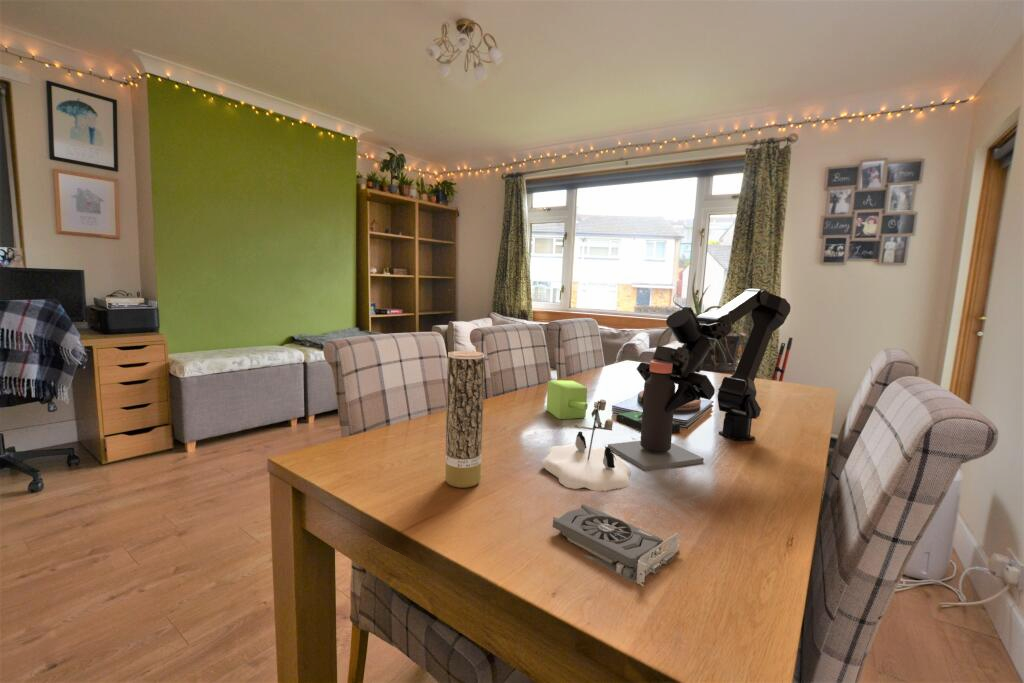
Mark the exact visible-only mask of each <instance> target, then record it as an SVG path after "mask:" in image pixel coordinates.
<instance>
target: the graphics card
mask: <svg viewBox="0 0 1024 683" xmlns="http://www.w3.org/2000/svg"><path fill="white" fill-rule="evenodd" d="M580 506H581V507H580V508H578V509H573V510H569V511H567V512H566V513H564V514H562V516H560V517H559V518H558V517H555V516H553V519H552V528H553V529H555V530H558V531H560V532H561V533H562V536H563V537H566V540H567V541H569V542H571V543H572V544H574V545H576V546H578V547H580V548H581V549H583V550H586V551H587V552H589V553H590V554H593V555H595V556H591V555H586V554H583V556H584V557H585V558H587V559H589V560H591V561H593V562H595V563H597V564H598V565H600V566H602V567H604V568H605V569H607V570H608V571H611V572H612V573H614V574H616V575H618V576H620V577H621V578H624V579H625V580H627V581H629V582H631V583H635V584H638V585H640V586H641V587H642V588H643V587H645V585H644V584H643V583H645V577H646V576H647V575H649V574H650V573H652V574H656V573H658V572H659V571H660V569H661V567H662V565H668V564H669V563H670V562H672V561H674V560H675V559H674V558H675V556H676V553H678V552H679V551H680V544H678V542H679V541H680V539H681V533H678V532H676V533H674V534H673V535H671V536H670V537H669V538H667V539H666V540H663V538H661V537H660V536H657V535H655V534H653V533H650V532H648V531H646V530H644V529H641V528H639V527H637V526H634V525H632V524H630V523H627V522H625V521H624V520H621V519H619V518H617V517H614V516H612V515H609V514H607V513H605V512H602V511H600V510H598V509H596V508H594V507H591V506H589V505H587V504H581V505H580Z"/></svg>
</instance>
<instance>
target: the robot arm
mask: <svg viewBox="0 0 1024 683" xmlns="http://www.w3.org/2000/svg"><path fill="white" fill-rule="evenodd" d="M790 312H791V304H790V303H789V302H788V301H787V298H784V297H781V296H779V295H776V294H772V293H771V292H769V291H767V290H766V289H764V288H746V289H744V290H743V292H742V293H741V294H740V295H738V296H736V297H735V298H734V299H732V300H731V301H729V302H728V303H726V304H724V305H723V306H721V307H720V308H718V309H716V310H710V311H706V312H703V313H701V314H698V315H697V316H696V315H695V312H694V310H693V308H692V307H690V306H689V307H688V306H683V308H682V309H680V310H677V311H675V312H673V313H671V314H669V315H668V317H667V318H666V322H665V323H666V325H667V327H668V329H669V330H670V332H671V333H672V336H674V338H675V340H676V342H678V343H680V344H682V345H681V347H680V346H678V347H677V348H672V347H671V346H663V345H656V349H655V351H654V353H653V356H652V359H653V360H660V361H665V362H670V363H673V367H672V375H670V379H671V380H672V381H673V383H674V384H675V385H677V389H676V390H675V394H674V395H673V397H672V398H671V400H670V401H669V403H668V404H667V406H666V408H665V411H666V412H667V413H669V412H671V411H673V410H674V411H675V410H676V409H678V408H680V407H683V406H685V405H686V404H689V403H691V402H694V401H700V400H701V399H705V400H708V401H710V400H711V399H712V398H713V396H714V395H715V393H716V390H715V386H714V385H713V384H712V382H711V380H710V379H709V377H708V376H707V375H706V374H702V373H700V372H701V371H702V369H701V367H700V365H701V364H702V362H703V361H704V359H706V357H707V355H709V356H716V350H715V347H714V346H715V345H714V343H712V342H711V341H710V340H716V341H721V340H724V339H725V338H726V337H727V336H728V335H729V334H730V333H731V332H732V331H733V325H734V324H735V323H736V322H738V321H740V320H741V319H742V318H743V317H745V316H746V315H747V314H749V313H750V317H751V320H752V324H753V325H752V328H751V331H750V333H749V336H748V338H747V341H746V344H745V345H744V348H743V351H742V353H741V356H740V359H739V361H738V363H737V366H736V369H735V370H734V373H733V374H732V375H731V376H724V378H723V379H722V382H721V385H720V386H719V388H718V393H717V402H718V404H717V405H718V410H719V412H724V418H723V424H722V426H723V427H722V430H719V431H718V434H719V435H721V436H724V437H726V438H729V439H731V440H734V441H747V440H755V439H756V437H755V436H754V435H752V434H751V429H752V423H753V419H755V420H756V419H758V418H759V417H760V414H761V410H762V408H761V407H760V405H759V403H758V400H756V396H757V389H756V385H755V379H756V376H757V374H758V372H759V369H760V366H761V363H762V361H763V359H764V356H765V354H766V352H767V348H768V346H769V343H770V340H771V337H772V335H773V333H774V332H775V331H776V330H778V329H779V328H780V327H781V326H783V325H784V323H785V321H786V320H787V318H788V316H789V314H790ZM636 370H637V372H638V373H639V374H640V376H641V378H642V379H643V380H644V382H645V381H646V380H647V379H649V378H650V377H651V373H650V362H646V361H641V362H640V363H639V364H638V365H637V367H636ZM643 397H644V391H643V393H642V397H641V401H640V403H641V404H642V405H643Z"/></svg>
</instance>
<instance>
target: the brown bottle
mask: <svg viewBox="0 0 1024 683" xmlns="http://www.w3.org/2000/svg"><path fill="white" fill-rule="evenodd" d="M649 363H650V373H651V377H650V378H649V379H647V380H646V381H645V380H644V384H643V392H644V397H643V404H642V410H643V412H642V427H641V431H640V441H641V442H640V445H641V446H642V447H643V448H644V449H646V450H649V451H654V452H666V451H669V450H670V449H671V443H672V436H673V432H672V425H673V421H674V411H675V410H673V411H671V412H669V413H667V412H666V411H665V408H666V406H667V404H668V403H669V401H670V400H671V398H672V397H673V395H674V394H675V392H676V384H675V383H673V381H672V380H671V379H670V375H672V367H673V363H670V362H665V361H660V360H654V359H653V360H650V361H649Z"/></svg>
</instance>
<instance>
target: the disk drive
mask: <svg viewBox="0 0 1024 683" xmlns="http://www.w3.org/2000/svg"><path fill="white" fill-rule="evenodd" d="M636 411H637V410H629V411H626V412H625V411H624V412H617V414H616V418H615V419H616V420H615V421H617V422H619V423H622V424H625V425H626V426H629V427H631V428H634V429H636V430H637V431H640V432H641V427H642V412H636ZM680 428H681V423H680V422H678V421H675V420H673V425H672V433H676V432H677V433H678V432H680V430H681V429H680Z"/></svg>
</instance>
